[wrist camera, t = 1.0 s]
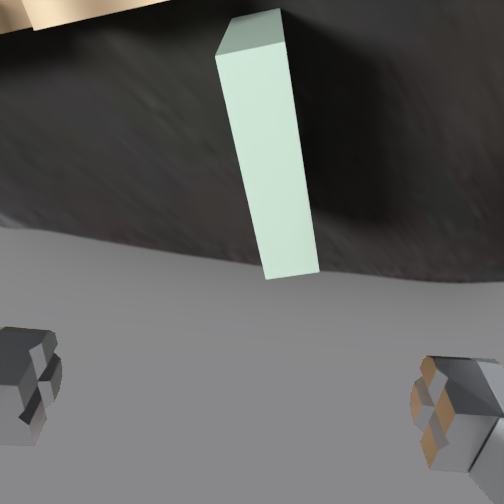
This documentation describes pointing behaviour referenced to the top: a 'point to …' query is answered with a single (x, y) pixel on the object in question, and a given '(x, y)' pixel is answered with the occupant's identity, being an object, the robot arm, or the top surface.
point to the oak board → (58, 11)
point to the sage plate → (268, 141)
